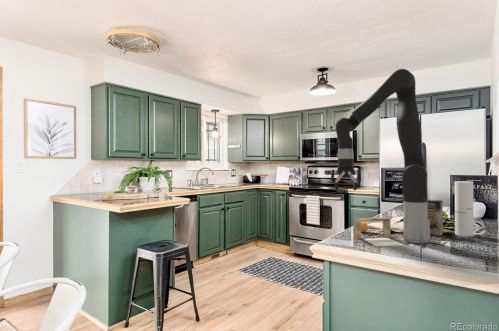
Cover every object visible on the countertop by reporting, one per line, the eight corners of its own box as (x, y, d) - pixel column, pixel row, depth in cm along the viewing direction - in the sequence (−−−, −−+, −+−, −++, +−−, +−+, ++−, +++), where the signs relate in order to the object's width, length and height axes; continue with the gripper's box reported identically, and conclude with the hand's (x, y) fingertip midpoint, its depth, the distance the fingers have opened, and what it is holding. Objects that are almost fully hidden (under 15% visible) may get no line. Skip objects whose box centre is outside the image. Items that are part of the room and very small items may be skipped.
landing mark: (388, 238, 136) (388, 238, 136) (404, 245, 124) (404, 245, 124) (362, 239, 135) (362, 238, 135) (376, 246, 123) (376, 246, 123)
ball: (365, 230, 152) (365, 220, 152) (370, 233, 147) (370, 222, 147) (355, 231, 152) (355, 221, 152) (360, 233, 147) (360, 223, 147)
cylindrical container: (476, 236, 138) (476, 182, 138) (459, 236, 139) (458, 182, 139) (468, 233, 145) (468, 181, 145) (452, 232, 146) (451, 181, 146)
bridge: (353, 237, 139) (353, 218, 139) (386, 236, 141) (386, 217, 141) (356, 238, 136) (356, 219, 136) (390, 237, 138) (390, 218, 138)
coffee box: (418, 233, 146) (418, 199, 146) (421, 230, 151) (421, 198, 151) (441, 235, 140) (440, 201, 140) (443, 233, 145) (442, 199, 145)
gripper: (358, 158, 154) (358, 189, 154) (330, 158, 156) (330, 189, 156) (362, 157, 146) (362, 191, 146) (332, 158, 148) (332, 191, 148)
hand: (345, 190), depth 151 cm, fingers open, 8 cm apart
